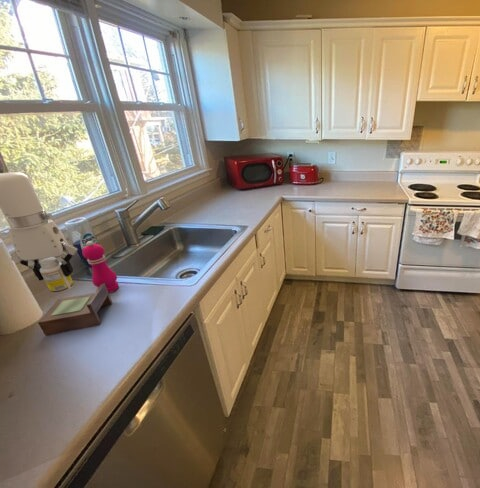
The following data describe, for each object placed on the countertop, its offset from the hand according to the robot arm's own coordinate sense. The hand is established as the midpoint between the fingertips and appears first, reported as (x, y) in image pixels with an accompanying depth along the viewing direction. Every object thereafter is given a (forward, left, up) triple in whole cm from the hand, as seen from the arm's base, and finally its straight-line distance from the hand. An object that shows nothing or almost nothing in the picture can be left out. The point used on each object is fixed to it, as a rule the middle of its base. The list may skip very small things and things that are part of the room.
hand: (56, 275), depth 84 cm
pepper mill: (+4, +16, -17) cm, 23 cm away
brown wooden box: (+1, 0, -16) cm, 16 cm away
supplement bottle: (0, 0, -5) cm, 5 cm away
